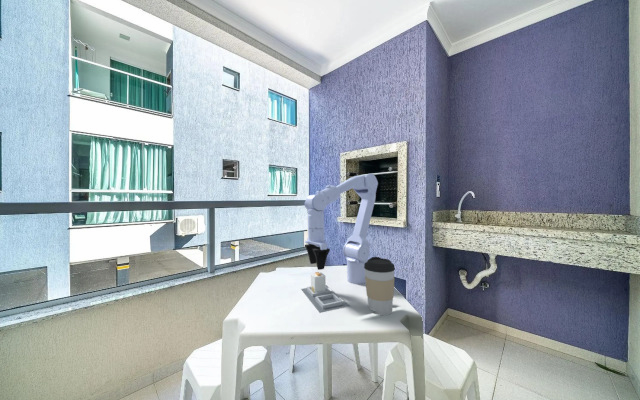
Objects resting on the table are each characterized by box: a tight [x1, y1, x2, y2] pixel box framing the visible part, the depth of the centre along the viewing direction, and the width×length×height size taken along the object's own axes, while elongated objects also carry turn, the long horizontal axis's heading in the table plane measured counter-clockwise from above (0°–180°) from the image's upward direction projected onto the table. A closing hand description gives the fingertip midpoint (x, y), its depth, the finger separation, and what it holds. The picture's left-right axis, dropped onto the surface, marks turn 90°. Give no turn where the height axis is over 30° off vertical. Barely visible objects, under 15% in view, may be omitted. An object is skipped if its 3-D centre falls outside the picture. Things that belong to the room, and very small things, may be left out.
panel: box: [300, 284, 351, 314], centre depth 74 cm, size 10×19×2 cm, turn 22°
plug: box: [310, 271, 327, 293], centre depth 78 cm, size 4×4×7 cm
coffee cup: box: [364, 256, 396, 316], centre depth 67 cm, size 9×9×15 cm
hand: (316, 266), depth 79 cm, fingers open, 7 cm apart
